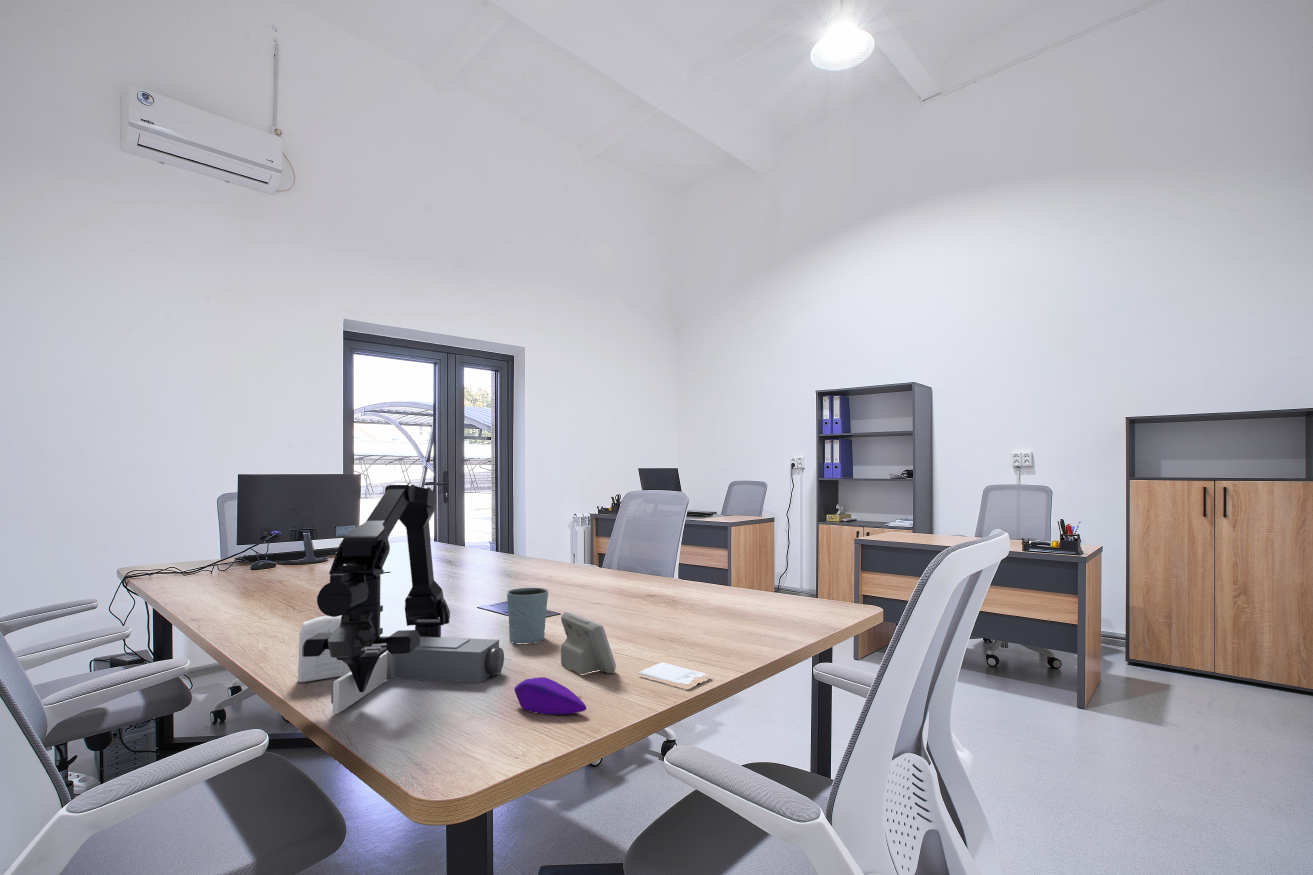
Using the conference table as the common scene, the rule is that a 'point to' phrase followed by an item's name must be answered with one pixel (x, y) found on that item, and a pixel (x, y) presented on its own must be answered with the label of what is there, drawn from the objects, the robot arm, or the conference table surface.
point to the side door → (347, 689)
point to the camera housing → (449, 660)
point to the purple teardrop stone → (547, 697)
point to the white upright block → (324, 663)
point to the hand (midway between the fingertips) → (362, 691)
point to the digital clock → (585, 645)
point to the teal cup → (527, 614)
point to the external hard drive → (671, 673)
